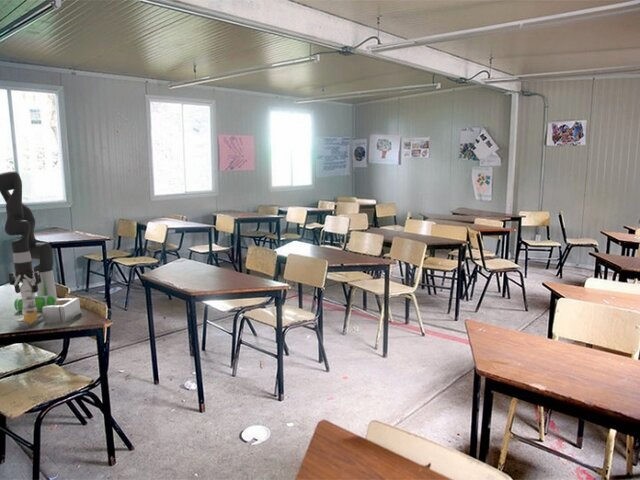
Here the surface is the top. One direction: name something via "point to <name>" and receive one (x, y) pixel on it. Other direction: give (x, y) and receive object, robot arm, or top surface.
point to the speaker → (39, 301)
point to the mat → (23, 318)
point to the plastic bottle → (27, 296)
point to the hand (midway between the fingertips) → (27, 292)
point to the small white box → (57, 312)
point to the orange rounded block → (30, 316)
